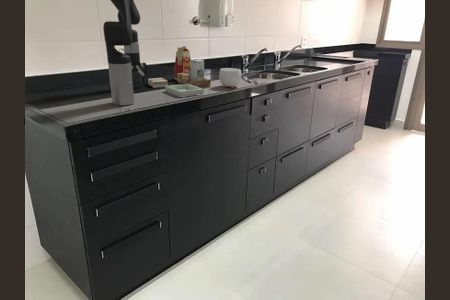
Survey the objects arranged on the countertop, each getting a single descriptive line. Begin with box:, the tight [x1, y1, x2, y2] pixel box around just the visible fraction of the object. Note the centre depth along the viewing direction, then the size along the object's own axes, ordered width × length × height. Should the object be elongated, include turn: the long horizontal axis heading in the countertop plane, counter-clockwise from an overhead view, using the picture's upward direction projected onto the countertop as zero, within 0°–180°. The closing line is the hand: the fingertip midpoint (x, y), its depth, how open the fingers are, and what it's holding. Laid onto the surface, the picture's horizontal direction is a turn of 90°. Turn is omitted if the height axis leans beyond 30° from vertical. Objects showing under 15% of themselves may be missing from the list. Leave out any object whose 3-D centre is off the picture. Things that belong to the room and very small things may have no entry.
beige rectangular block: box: [147, 77, 169, 89], centre depth 176 cm, size 10×8×4 cm
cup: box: [218, 67, 242, 88], centre depth 176 cm, size 12×12×10 cm
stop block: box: [177, 73, 190, 84], centre depth 184 cm, size 8×4×5 cm, turn 37°
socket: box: [183, 77, 211, 89], centre depth 177 cm, size 11×11×4 cm
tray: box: [164, 83, 205, 98], centre depth 160 cm, size 16×13×3 cm
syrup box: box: [190, 58, 205, 81], centre depth 175 cm, size 6×6×14 cm
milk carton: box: [174, 45, 192, 81], centre depth 192 cm, size 9×9×20 cm
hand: (134, 83), depth 168 cm, fingers open, 8 cm apart
